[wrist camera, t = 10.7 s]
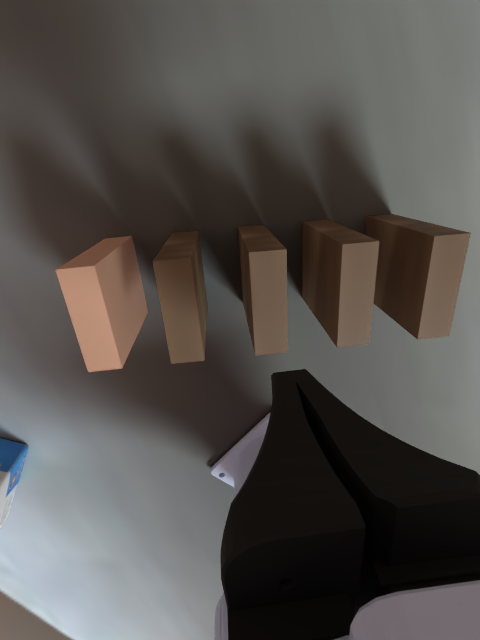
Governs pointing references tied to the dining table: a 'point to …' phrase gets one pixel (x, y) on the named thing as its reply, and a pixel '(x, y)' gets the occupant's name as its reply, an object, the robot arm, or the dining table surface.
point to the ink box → (9, 473)
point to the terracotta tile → (105, 301)
